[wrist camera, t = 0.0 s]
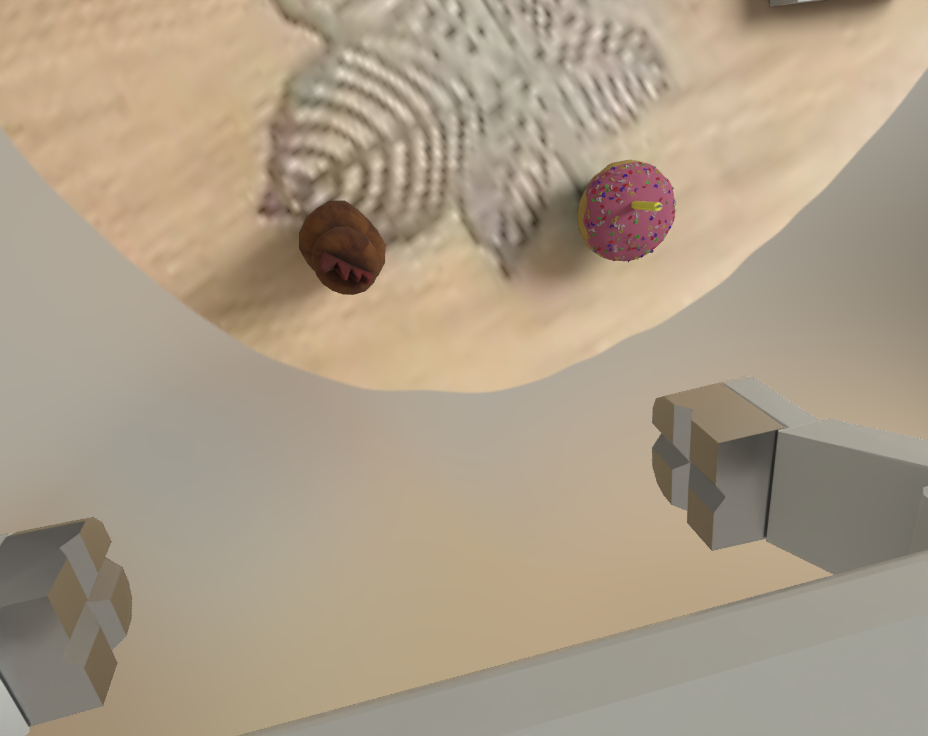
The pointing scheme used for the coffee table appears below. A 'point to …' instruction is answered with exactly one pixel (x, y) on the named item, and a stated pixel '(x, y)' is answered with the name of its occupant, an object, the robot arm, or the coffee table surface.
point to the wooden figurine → (342, 247)
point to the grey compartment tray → (788, 2)
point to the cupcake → (626, 210)
